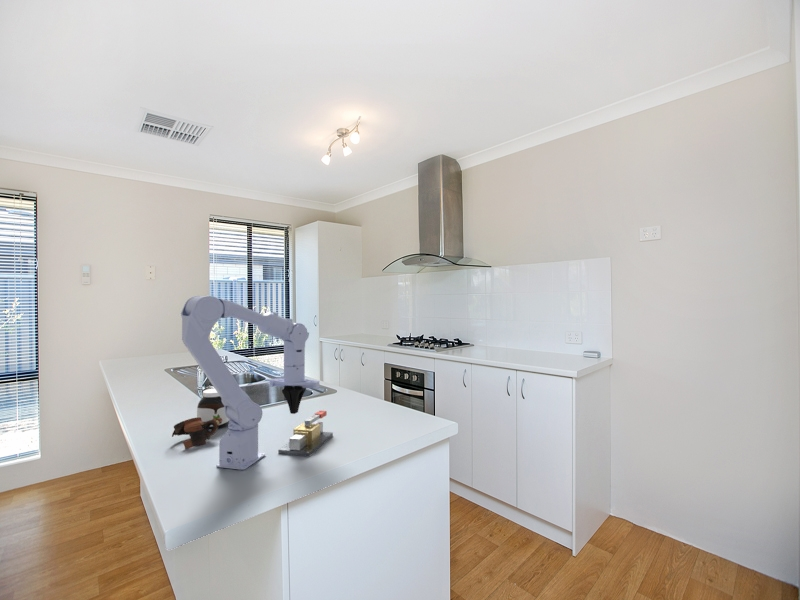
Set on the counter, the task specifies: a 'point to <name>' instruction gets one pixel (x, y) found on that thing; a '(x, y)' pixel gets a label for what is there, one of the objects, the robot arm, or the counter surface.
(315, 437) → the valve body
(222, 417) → the spread jar
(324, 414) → the valve lever
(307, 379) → the robot arm
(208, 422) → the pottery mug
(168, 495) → the counter surface
